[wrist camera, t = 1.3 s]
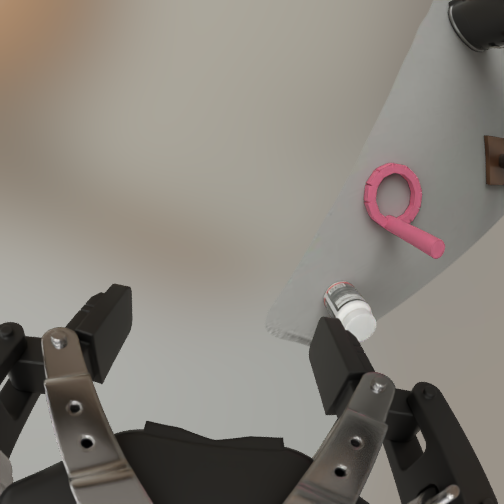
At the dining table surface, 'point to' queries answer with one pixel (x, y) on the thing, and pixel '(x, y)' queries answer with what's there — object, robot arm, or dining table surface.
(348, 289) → the pill bottle
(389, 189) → the dining table surface
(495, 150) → the stand
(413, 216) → the pink ring with post
